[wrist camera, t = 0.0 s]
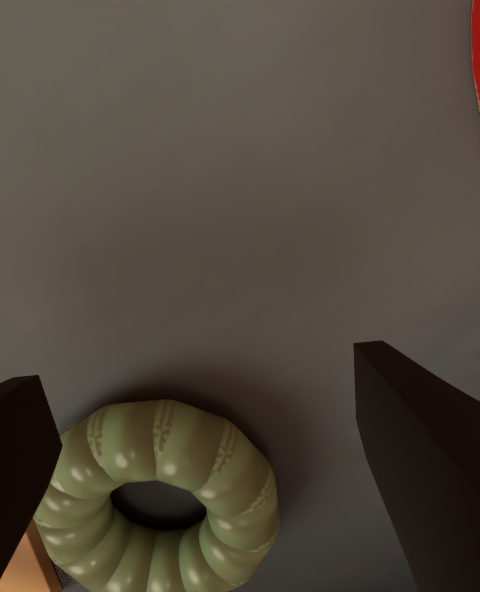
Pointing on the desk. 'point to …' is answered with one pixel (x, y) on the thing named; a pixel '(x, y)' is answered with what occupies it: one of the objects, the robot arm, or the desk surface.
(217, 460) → the ring
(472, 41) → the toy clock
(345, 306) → the desk surface
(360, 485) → the desk surface
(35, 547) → the rack
